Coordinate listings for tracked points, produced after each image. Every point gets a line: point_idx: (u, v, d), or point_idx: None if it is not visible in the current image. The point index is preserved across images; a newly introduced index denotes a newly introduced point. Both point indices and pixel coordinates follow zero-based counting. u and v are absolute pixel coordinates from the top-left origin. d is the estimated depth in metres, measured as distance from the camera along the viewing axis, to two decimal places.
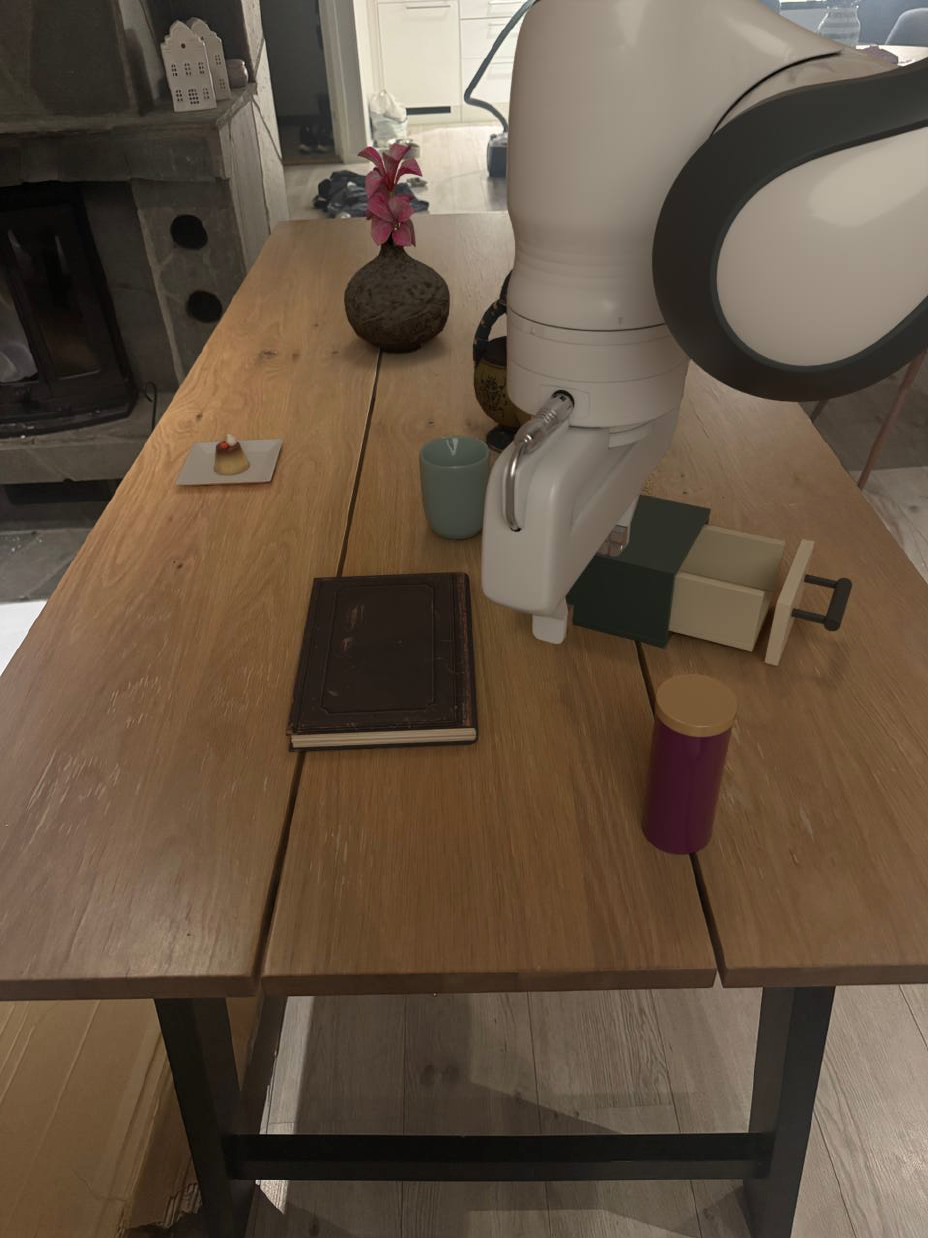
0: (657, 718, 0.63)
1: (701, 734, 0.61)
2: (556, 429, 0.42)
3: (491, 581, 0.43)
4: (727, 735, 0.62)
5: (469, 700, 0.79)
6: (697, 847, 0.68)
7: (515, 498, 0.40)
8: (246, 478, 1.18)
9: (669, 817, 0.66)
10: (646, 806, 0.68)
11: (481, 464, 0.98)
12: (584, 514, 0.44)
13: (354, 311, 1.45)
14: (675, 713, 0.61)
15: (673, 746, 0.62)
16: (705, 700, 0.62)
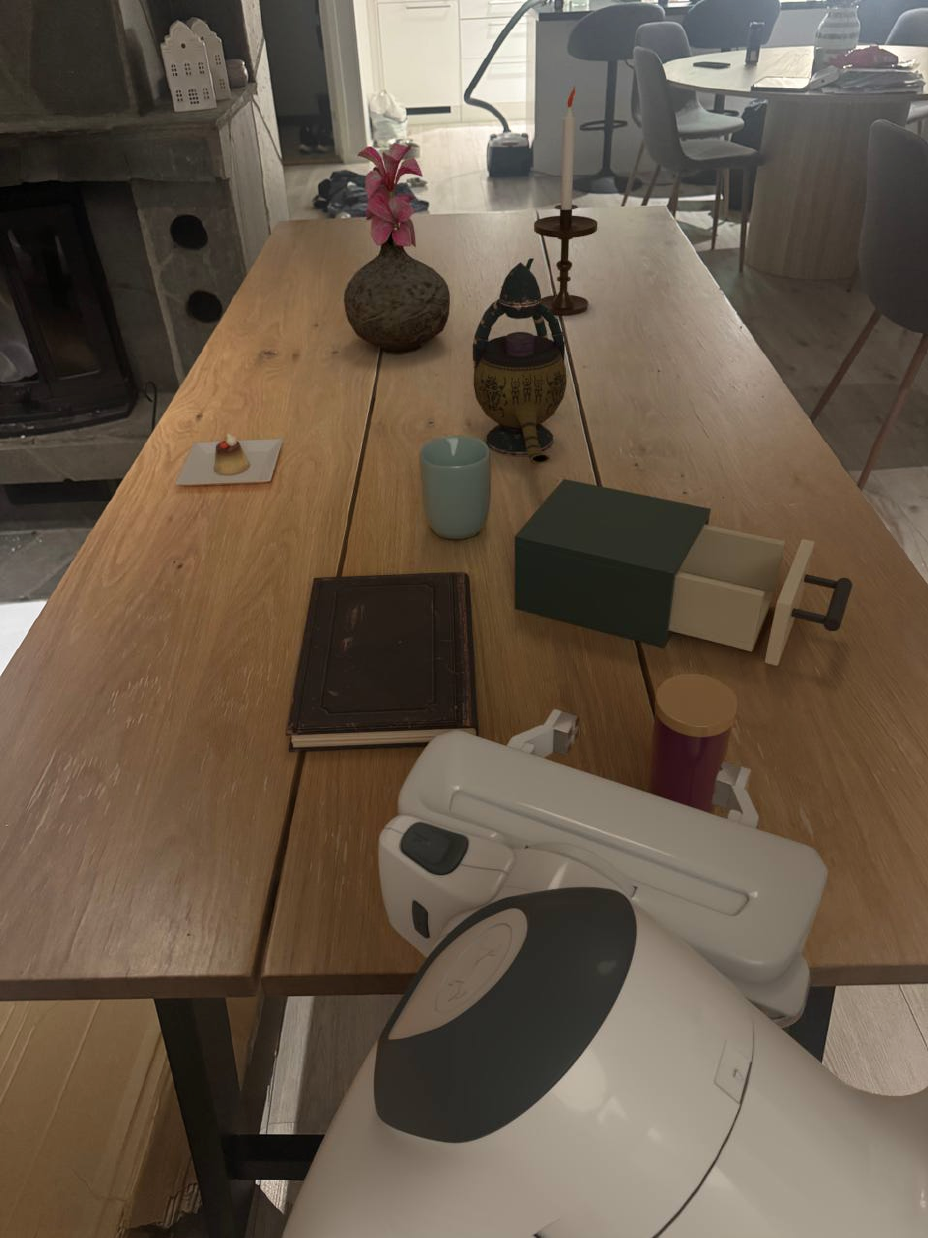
0: (657, 718, 0.63)
1: (701, 734, 0.61)
2: None
3: None
4: (727, 735, 0.62)
5: (469, 700, 0.79)
6: None
7: (802, 991, 0.38)
8: (246, 478, 1.18)
9: None
10: None
11: (481, 464, 0.98)
12: (716, 877, 0.41)
13: (354, 311, 1.45)
14: (675, 713, 0.61)
15: (673, 746, 0.62)
16: (705, 700, 0.62)
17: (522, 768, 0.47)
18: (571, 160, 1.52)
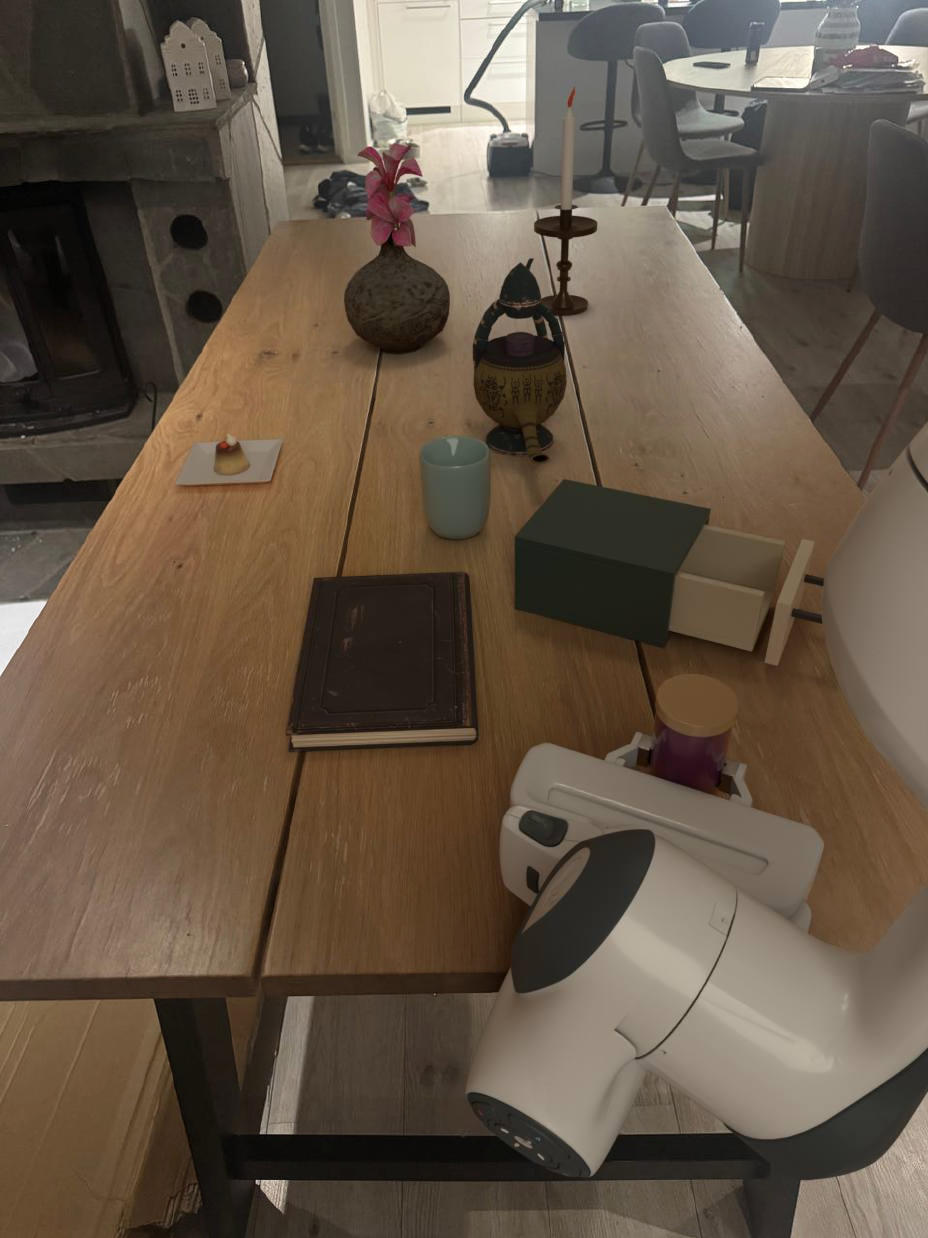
0: (658, 718, 0.63)
1: (702, 734, 0.61)
2: None
3: None
4: (728, 735, 0.62)
5: (469, 700, 0.79)
6: None
7: (806, 926, 0.55)
8: (246, 478, 1.18)
9: None
10: None
11: (481, 464, 0.98)
12: (744, 848, 0.57)
13: (354, 311, 1.45)
14: (676, 713, 0.61)
15: (674, 746, 0.62)
16: (706, 700, 0.62)
17: (598, 771, 0.63)
18: (571, 160, 1.52)
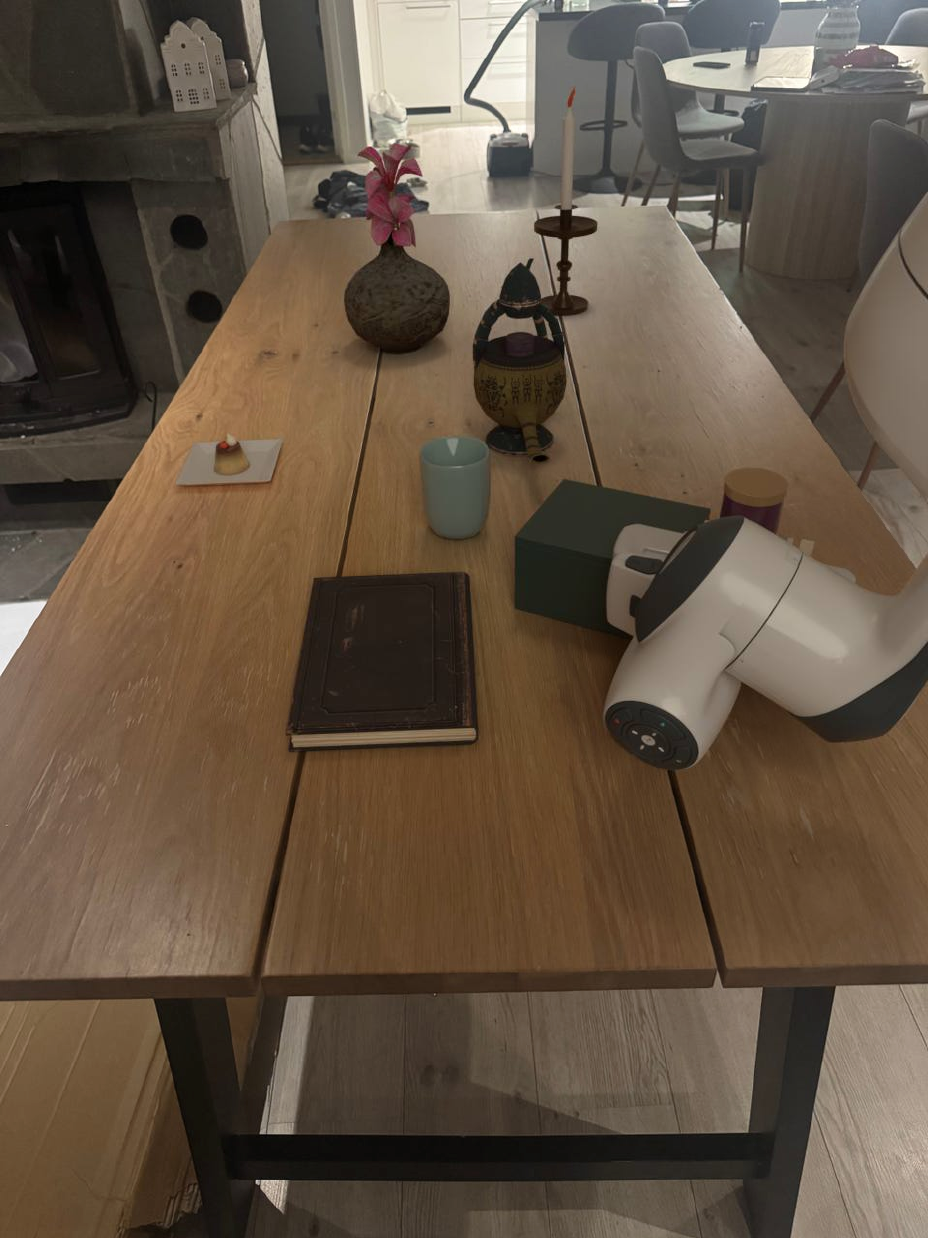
0: (725, 498, 0.81)
1: (761, 504, 0.79)
2: None
3: None
4: (780, 508, 0.81)
5: (469, 700, 0.79)
6: None
7: None
8: (246, 478, 1.18)
9: None
10: None
11: (481, 464, 0.98)
12: None
13: (354, 311, 1.45)
14: (741, 489, 0.80)
15: None
16: (763, 482, 0.81)
17: (680, 539, 0.82)
18: (571, 160, 1.52)
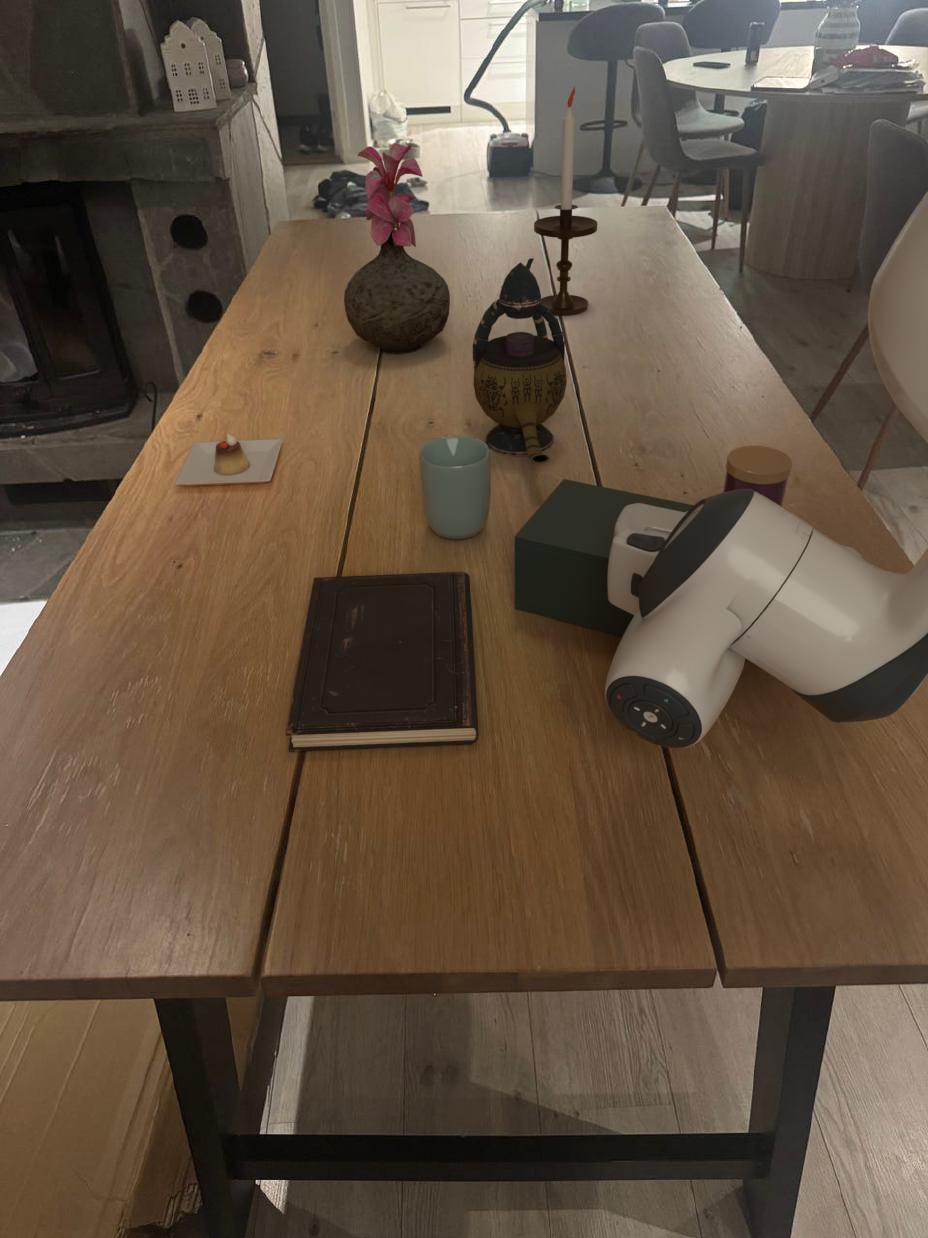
0: (728, 476, 0.80)
1: (764, 481, 0.78)
2: None
3: None
4: (784, 486, 0.79)
5: (469, 700, 0.79)
6: None
7: None
8: (246, 478, 1.18)
9: None
10: None
11: (481, 464, 0.98)
12: None
13: (354, 311, 1.45)
14: (744, 467, 0.79)
15: None
16: (766, 459, 0.79)
17: (682, 517, 0.80)
18: (571, 160, 1.52)
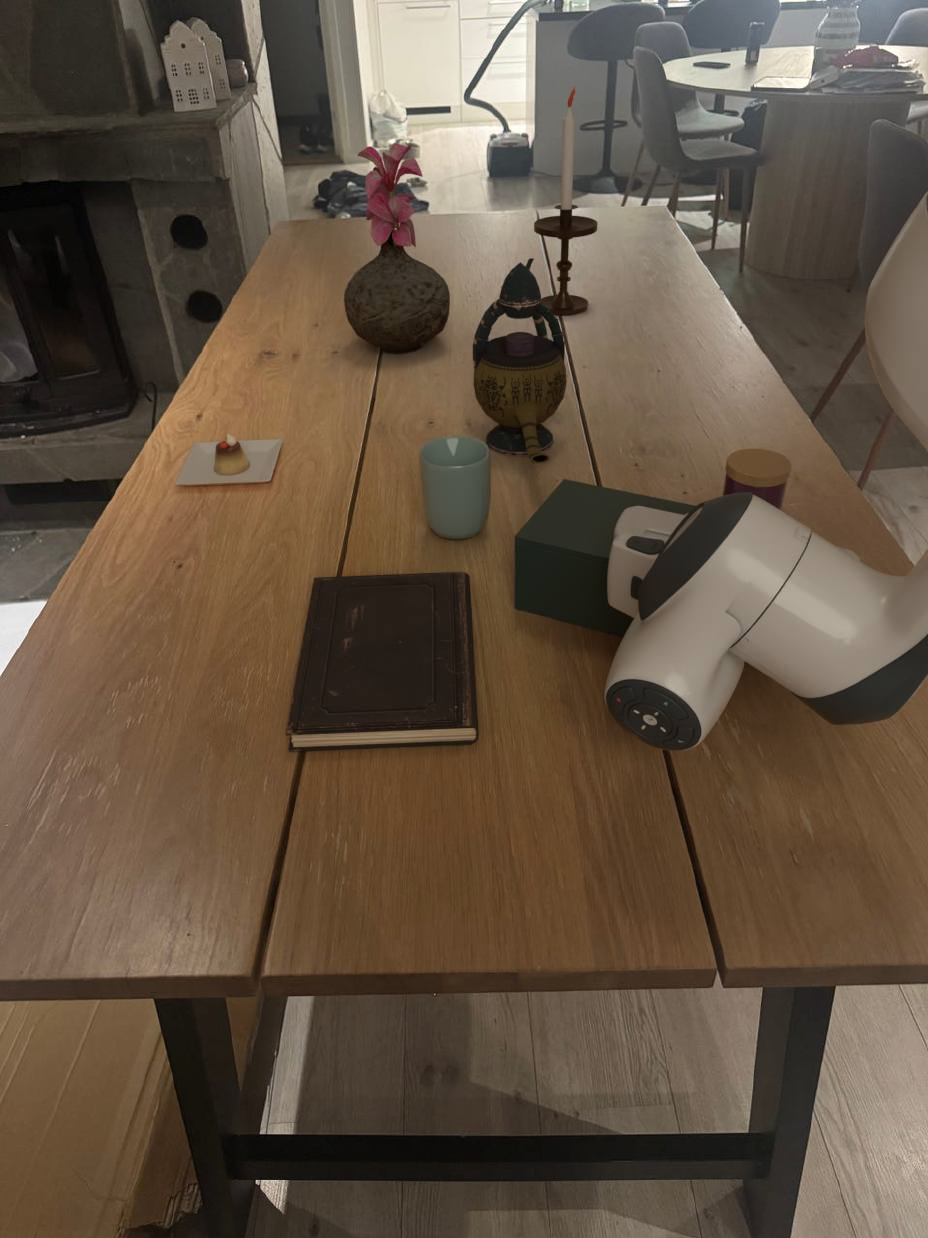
0: (727, 478, 0.80)
1: (764, 484, 0.78)
2: None
3: None
4: (783, 489, 0.79)
5: (469, 700, 0.79)
6: None
7: None
8: (246, 478, 1.18)
9: None
10: None
11: (481, 464, 0.98)
12: None
13: (354, 311, 1.45)
14: (743, 470, 0.79)
15: None
16: (766, 462, 0.80)
17: (681, 520, 0.80)
18: (571, 160, 1.52)
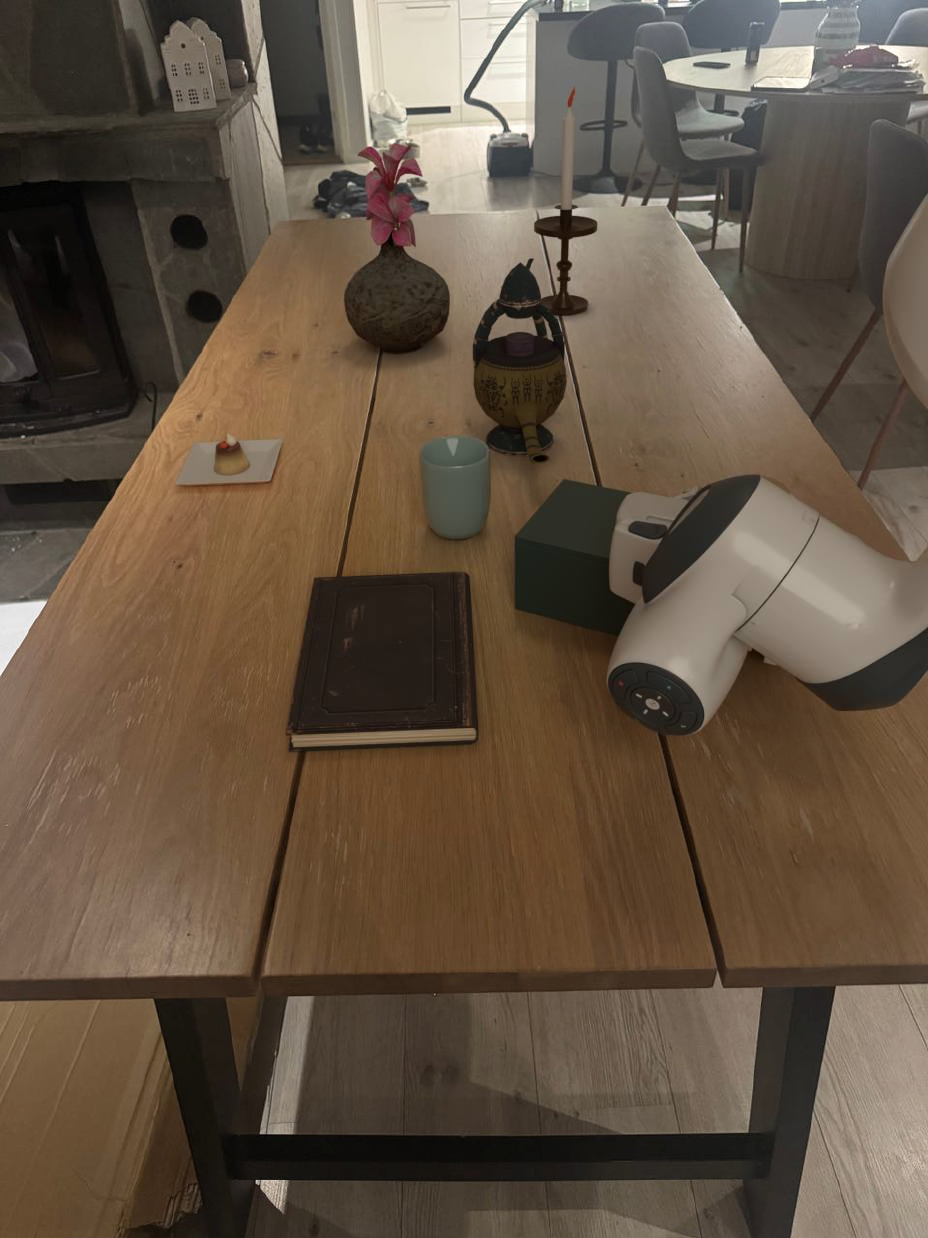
0: None
1: None
2: None
3: None
4: None
5: (469, 700, 0.79)
6: None
7: None
8: (246, 478, 1.18)
9: None
10: None
11: (481, 464, 0.98)
12: None
13: (354, 311, 1.45)
14: None
15: None
16: None
17: (684, 506, 0.80)
18: (571, 160, 1.52)
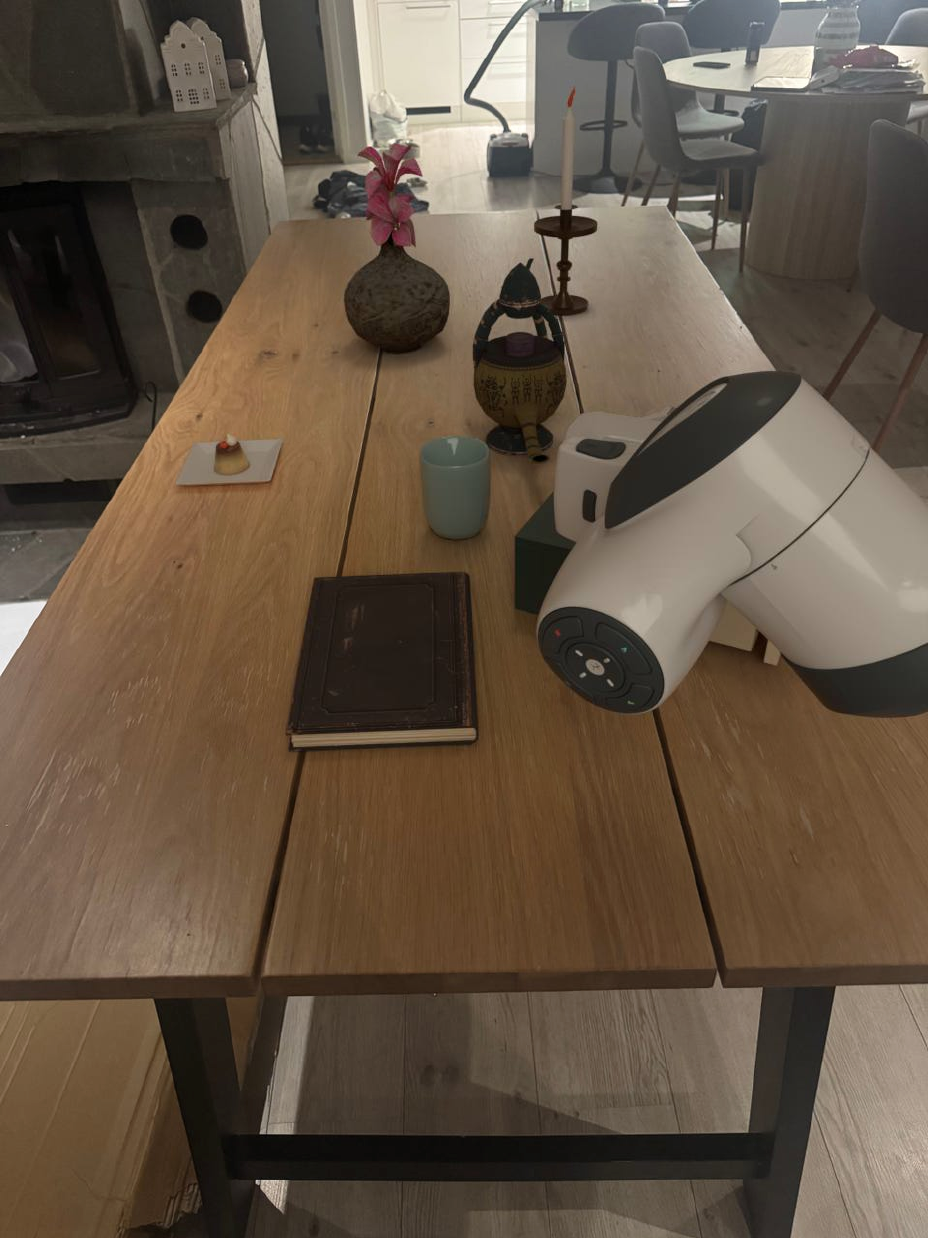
0: None
1: None
2: None
3: None
4: None
5: (469, 700, 0.79)
6: None
7: None
8: (246, 478, 1.18)
9: None
10: None
11: (481, 464, 0.98)
12: None
13: (354, 311, 1.45)
14: None
15: None
16: None
17: (651, 426, 0.63)
18: (571, 160, 1.52)
